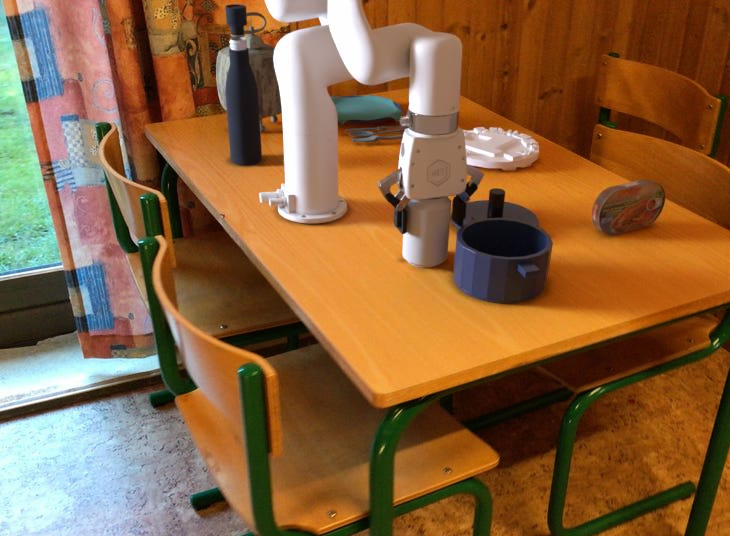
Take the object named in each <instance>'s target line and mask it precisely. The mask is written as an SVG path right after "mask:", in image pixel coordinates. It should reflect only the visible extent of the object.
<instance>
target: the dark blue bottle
mask: <svg viewBox="0 0 730 536" xmlns="http://www.w3.org/2000/svg"><path fill="white" fill-rule="evenodd" d="M224 9H225V22H226V23H225V24H226V26H228V27H229V28H230V38H229V47H231V48H230V49H229V58H230V66H229V70H228V74H227V78H226V88H225V95H226V107H227V111H226V119H227V131H228V142H229V151H230V152H229V156H230V162H231V163H233V164H234V165H237V166H243V167H247V166H249V167H250V166H254V165H258V164H260V163H261V162H262V161H263V153H262V152H263V151H262V137H261V135H262V133H261V132H260V117H259V100H258V88H257V83H256V80H255V76H254V73H253V71H252V68H251V66H250V63H249V50H248V48H246V47H247V44H246V43H247V41H246V38H244V37H245V36H246V34H245V33H244V30H245V26H247V25H248V16H247V14H246V13H247V6H246V5H245V4H238V3H237V4H235V3H234V4H233V3H231V4H228V5H226V6H225V7H224Z"/></svg>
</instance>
